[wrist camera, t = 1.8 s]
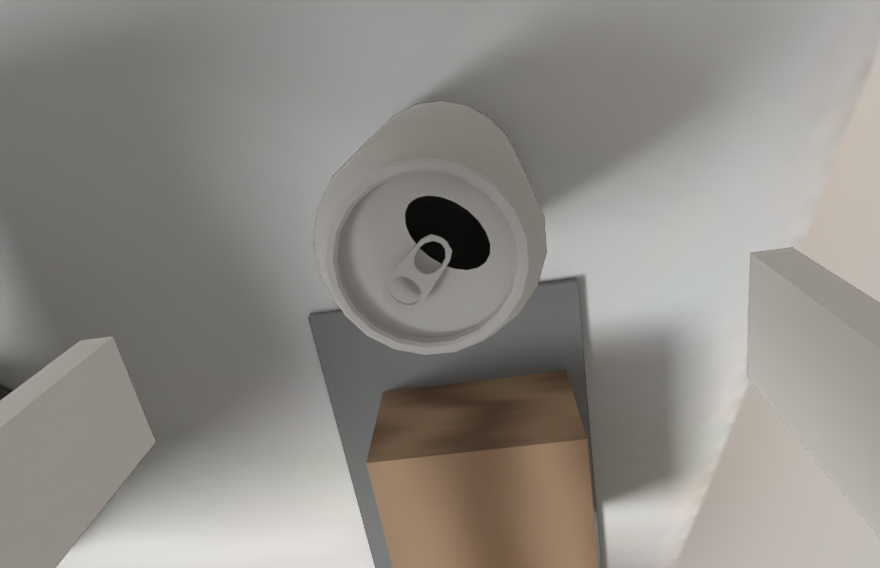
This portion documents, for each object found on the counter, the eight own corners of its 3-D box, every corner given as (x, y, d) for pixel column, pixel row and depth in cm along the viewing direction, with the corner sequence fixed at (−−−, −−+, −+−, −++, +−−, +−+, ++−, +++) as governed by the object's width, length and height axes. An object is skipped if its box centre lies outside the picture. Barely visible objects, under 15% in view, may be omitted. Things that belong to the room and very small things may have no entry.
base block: (414, 531, 36) (405, 619, 31) (382, 392, 33) (365, 463, 27) (579, 515, 35) (601, 603, 30) (565, 369, 32) (587, 439, 26)
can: (551, 166, 28) (609, 245, 17) (454, 281, 31) (448, 417, 19) (425, 64, 27) (398, 76, 16) (333, 193, 29) (252, 284, 18)
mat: (383, 590, 39) (382, 595, 38) (310, 314, 31) (308, 317, 31) (600, 571, 37) (601, 576, 37) (576, 278, 30) (577, 281, 30)
